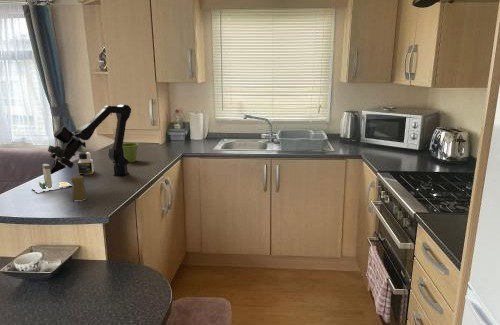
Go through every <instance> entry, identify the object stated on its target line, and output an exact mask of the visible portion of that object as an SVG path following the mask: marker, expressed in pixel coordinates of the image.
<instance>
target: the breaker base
mask: <svg viewBox="0 0 500 325" xmlns="http://www.w3.org/2000/svg"><path fill="white" fill-rule="evenodd" d="M58 183H59V184H60V185H59V187H58V188H63V187H69V186H72V187H73V184H71V183H69V182H67V181H62V182H58ZM38 186H40V187H41V188H42V189H46V187H45V181H43V180H40V181H38ZM69 188H70V187H69Z"/></svg>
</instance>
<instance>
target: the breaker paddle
mask: <svg viewBox="0 0 500 325" xmlns="http://www.w3.org/2000/svg"><path fill="white" fill-rule="evenodd" d="M41 166H42V167H41V168H42V172H43V173H42V174H43V182H44V183H45V186H46V187H48V188H51V187H52V184H53V180H52V174H51V172H50V170H51V166H50V164H48V163H43V164H41Z"/></svg>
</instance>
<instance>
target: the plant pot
mask: <svg viewBox="0 0 500 325" xmlns="http://www.w3.org/2000/svg"><path fill="white" fill-rule="evenodd" d="M138 146H139V143H137V142H126V143H125V142H123V151H124V158H125V159H127V160H128V163H134V162H136V161H137V152H138Z"/></svg>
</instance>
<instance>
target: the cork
mask: <svg viewBox="0 0 500 325" xmlns="http://www.w3.org/2000/svg"><path fill="white" fill-rule="evenodd" d="M71 183H72V189H73V190H72V191H73V192H72V194H73V195H72V201H73V200H83V199H86V198H88V195H87V191H86V188H85V185H84V183H85V178H84V176H82V175H75V176H73V177H72V178H71Z"/></svg>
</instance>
